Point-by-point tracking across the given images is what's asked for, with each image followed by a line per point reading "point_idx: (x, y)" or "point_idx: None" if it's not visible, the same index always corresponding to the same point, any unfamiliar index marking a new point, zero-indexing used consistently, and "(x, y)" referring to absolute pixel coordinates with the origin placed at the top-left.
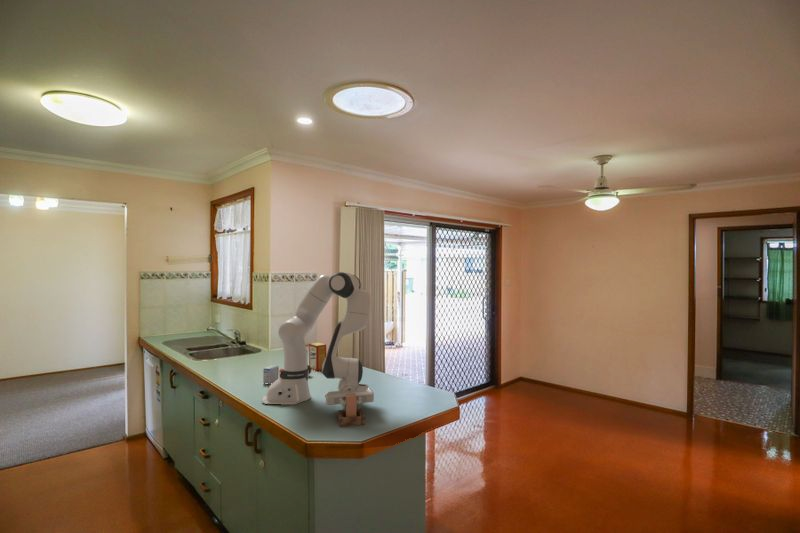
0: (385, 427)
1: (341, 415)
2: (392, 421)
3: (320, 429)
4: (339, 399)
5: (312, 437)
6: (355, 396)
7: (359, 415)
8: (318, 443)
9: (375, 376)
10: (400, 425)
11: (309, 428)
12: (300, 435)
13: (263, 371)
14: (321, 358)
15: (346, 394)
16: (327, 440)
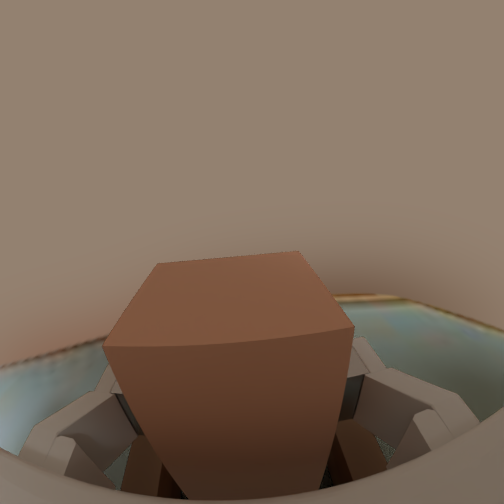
0: (82, 369)
1: (344, 424)
2: (20, 406)
3: (425, 367)
4: (447, 397)
5: (411, 315)
6: (170, 262)
7: (168, 485)
8: (366, 293)
9: None
10: (27, 367)
11: (477, 364)
12: (460, 319)
13: None
14: None
15: (327, 302)
16: (345, 305)
